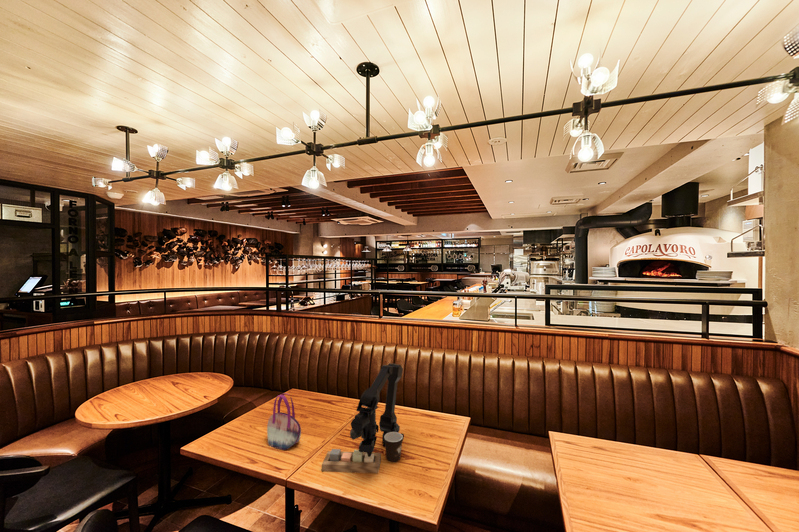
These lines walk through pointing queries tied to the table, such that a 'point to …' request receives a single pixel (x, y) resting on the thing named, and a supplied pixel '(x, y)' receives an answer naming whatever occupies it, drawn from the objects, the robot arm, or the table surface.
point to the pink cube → (346, 457)
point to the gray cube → (335, 455)
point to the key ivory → (369, 458)
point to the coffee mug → (393, 446)
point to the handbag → (283, 426)
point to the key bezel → (352, 464)
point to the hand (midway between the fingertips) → (369, 456)
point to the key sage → (357, 456)
